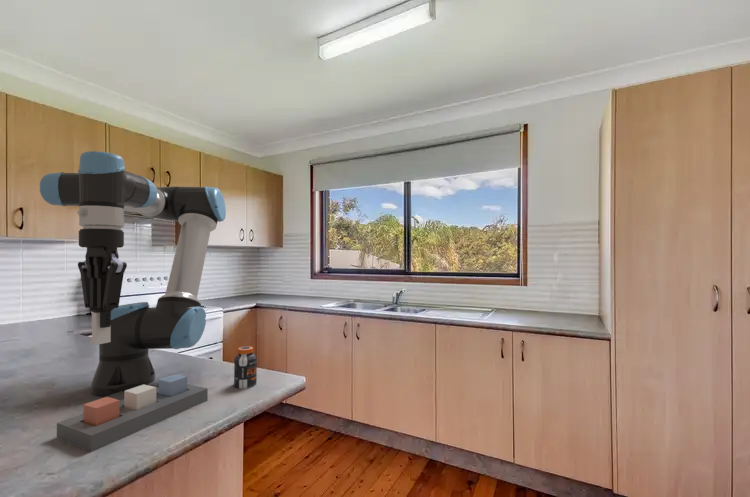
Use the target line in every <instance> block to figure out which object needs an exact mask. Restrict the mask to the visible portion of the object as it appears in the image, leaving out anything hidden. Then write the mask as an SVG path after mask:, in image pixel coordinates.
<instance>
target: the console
mask: <svg viewBox="0 0 750 497" xmlns="http://www.w3.org/2000/svg"><path fill="white" fill-rule="evenodd" d="M208 400H209V399H208V388H207V387H202V386H199V385H194V384H190V383H187V391H185V392H183V393H180V394H177V395H175V396H172V397H167V396H163V395H159V386H157V387H156V403H154V404H152V405H149V406H147V407H144V408H141V409H139V410H136V411H135V410H132V409H129V408H125V407H124V398H123V399H121V400H120V399H119V417H118V418H116V419H113V420H111V421H108V422H105V423H103V424H100V425H98V426H95V427H94V426H91V425H89V424H86V423H83V413H81V414H78V415H74V416H73V417H70V418H67V419H64V420H61V421H58V422H56V439H58V440H60V441H63V442H65V443H69V444H70V445H73V446H76V447H78V448H81V449H83V450H86V451H88V452H91V453H92V452H94V451H97V450H99V449H101V448H103V447H106V446H107V445H111V444H112V443H114V442H117V441H119V440H121V439H124V438H126V437H128V436H131V435H133V434H135V433H138V432H139V431H142V430H144V429H146V428H148V427H151V426H154V425H156V424H158V423H161V422H163V421H165V420H167V419H169V418H171V417H174V416H177V415H178V414H181V413H183V412H185V411H187V410H190V409H191V408H194V407H196V406H198V405H201V404H203V403H205V402H208Z"/></svg>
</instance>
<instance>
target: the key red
mask: <svg viewBox="0 0 750 497" xmlns="http://www.w3.org/2000/svg"><path fill="white" fill-rule="evenodd" d="M119 401H120V399H117V398H113V397H110V396H104V397H102V398H98V399H96V400H92V401H90V402H87V403H84V404H83V407H82V408H83V413H82V414H83V423H86V424H89V425H91V426H94V427H95V426H98V425H100V424H103V423H105V422H108V421H111V420H113V419H116V418H118V417H119Z"/></svg>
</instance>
